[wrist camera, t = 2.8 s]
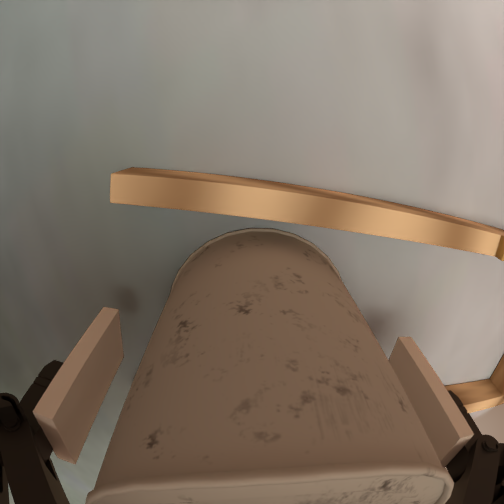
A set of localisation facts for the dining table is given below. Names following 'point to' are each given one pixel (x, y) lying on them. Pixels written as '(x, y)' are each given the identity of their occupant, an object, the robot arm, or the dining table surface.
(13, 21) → the dining table surface
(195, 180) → the beam frame
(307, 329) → the speckled beige cylinder
